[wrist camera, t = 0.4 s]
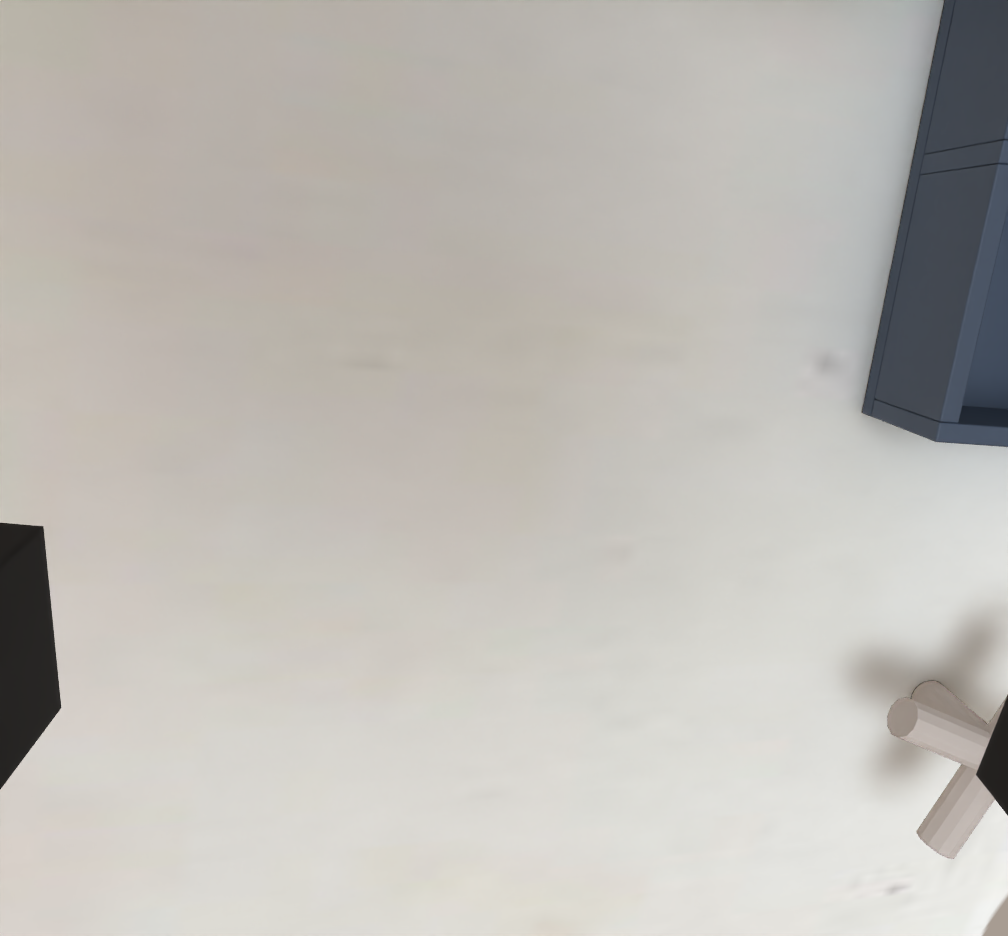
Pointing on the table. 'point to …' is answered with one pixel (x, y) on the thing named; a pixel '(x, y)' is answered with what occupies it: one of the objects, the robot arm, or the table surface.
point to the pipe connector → (956, 736)
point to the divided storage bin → (953, 247)
